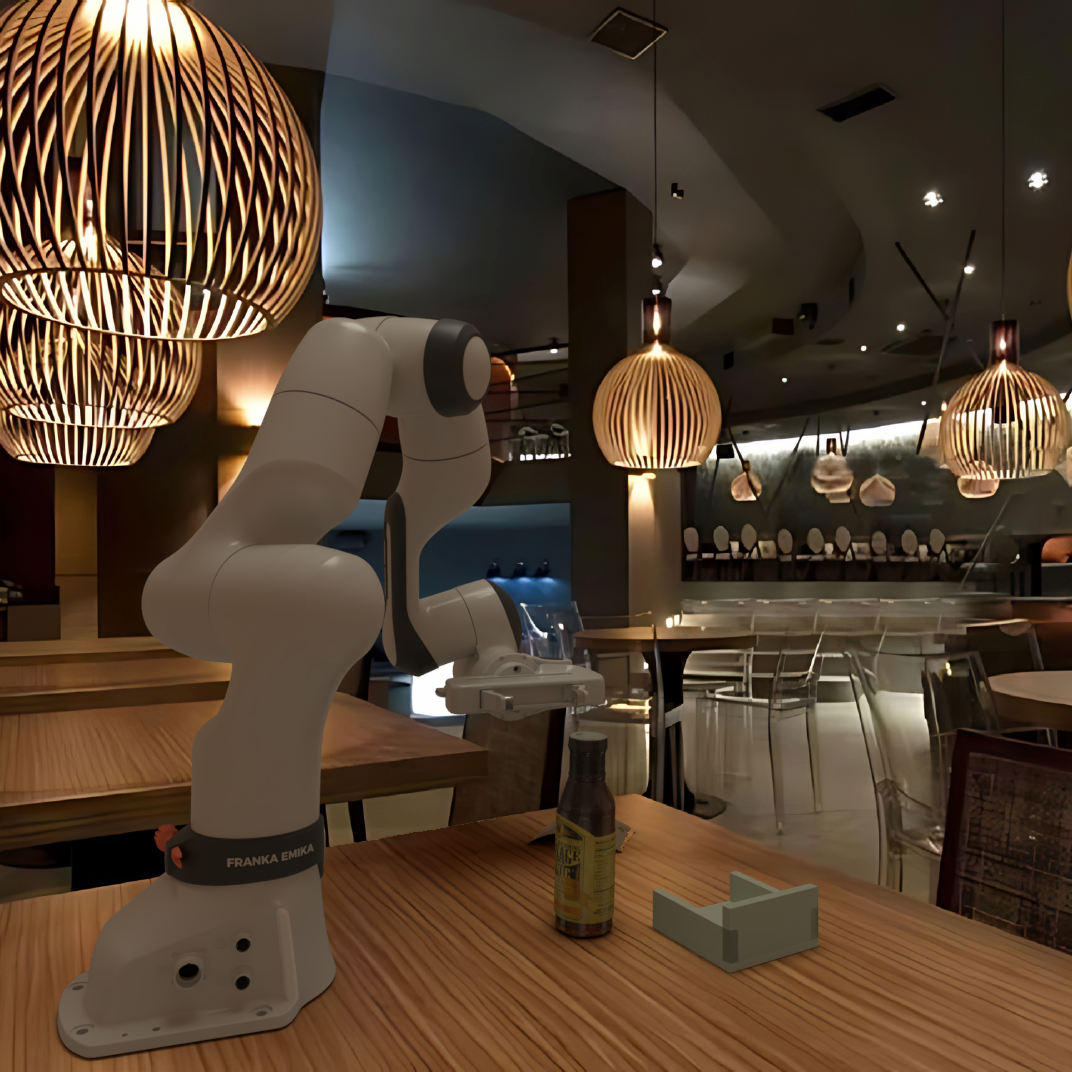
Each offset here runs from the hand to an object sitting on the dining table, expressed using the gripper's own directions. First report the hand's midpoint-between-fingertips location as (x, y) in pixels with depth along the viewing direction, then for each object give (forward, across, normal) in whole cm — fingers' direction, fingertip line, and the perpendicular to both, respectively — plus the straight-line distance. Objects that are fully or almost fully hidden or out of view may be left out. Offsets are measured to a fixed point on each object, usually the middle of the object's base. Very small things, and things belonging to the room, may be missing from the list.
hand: (545, 701), depth 102 cm
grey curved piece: (-15, +11, +22) cm, 29 cm away
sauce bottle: (+12, 0, +21) cm, 25 cm away
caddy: (+19, +13, +21) cm, 31 cm away
